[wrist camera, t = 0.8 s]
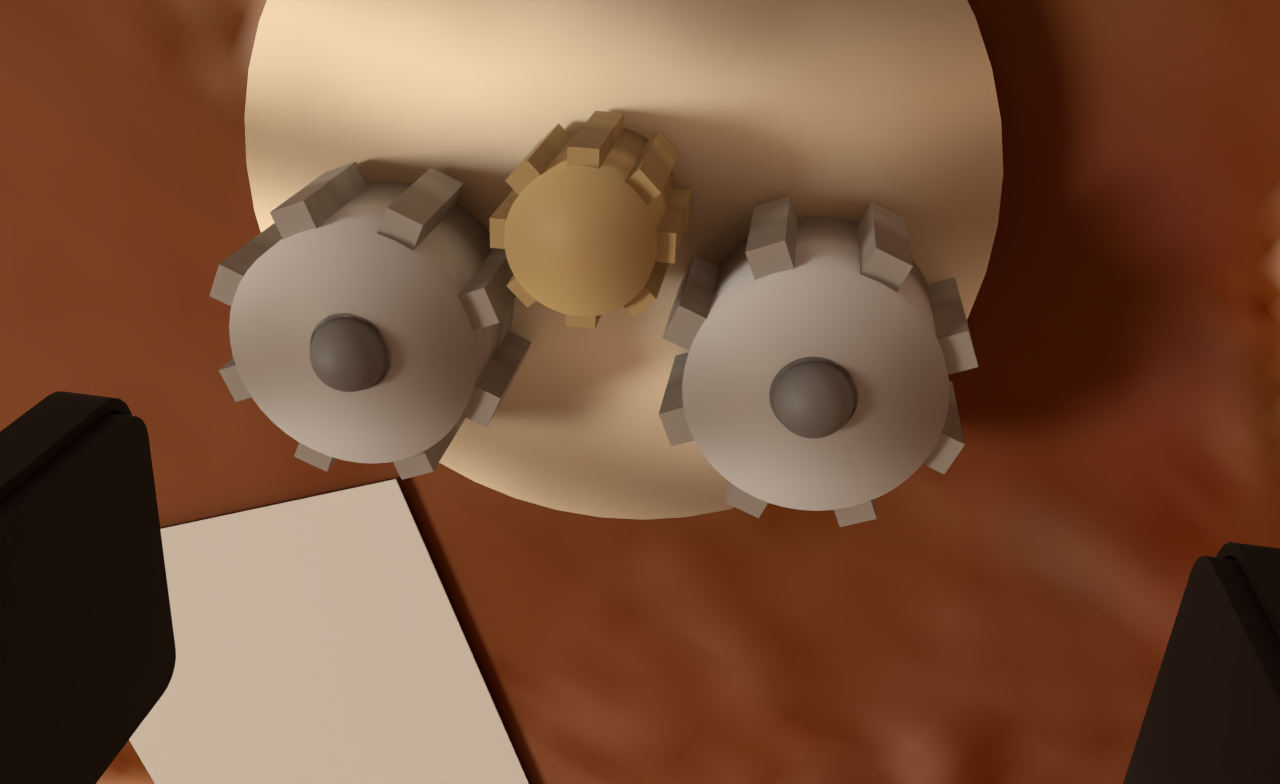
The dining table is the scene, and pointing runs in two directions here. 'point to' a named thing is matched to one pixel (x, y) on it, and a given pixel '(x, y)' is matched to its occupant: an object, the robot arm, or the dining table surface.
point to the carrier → (618, 244)
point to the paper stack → (318, 654)
